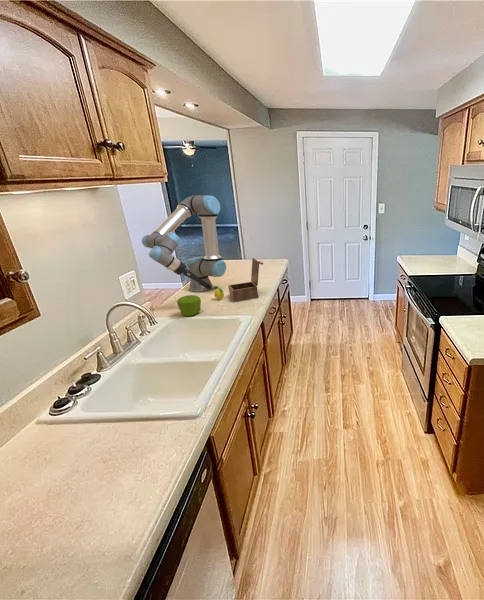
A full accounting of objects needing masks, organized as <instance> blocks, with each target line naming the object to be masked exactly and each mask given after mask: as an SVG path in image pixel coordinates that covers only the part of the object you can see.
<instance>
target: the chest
mask: <svg viewBox="0 0 484 600" xmlns="http://www.w3.org/2000/svg"><path fill="white" fill-rule="evenodd" d="M227 286H228V294H229V297H230V298H231V300H232V302H233V303H237V302H242V301H248V300H253V299H259V293H258V292H259V291H258V286H256V285H255V284H254V283H253V282H252V281H246V282H240V283H233V284H228V285H227Z"/></svg>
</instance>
